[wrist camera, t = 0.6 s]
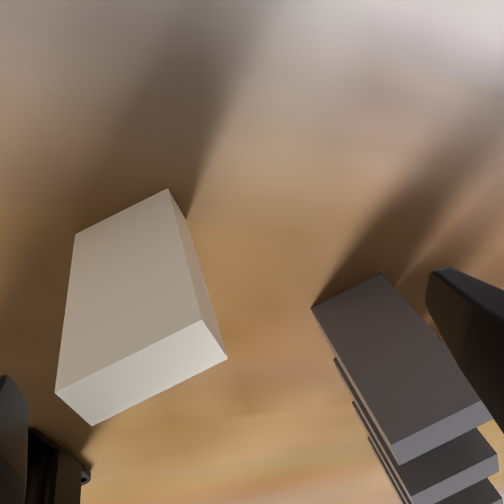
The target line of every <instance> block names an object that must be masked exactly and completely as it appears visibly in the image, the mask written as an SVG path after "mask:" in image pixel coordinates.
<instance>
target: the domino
mask: <svg viewBox="0 0 504 504" xmlns="http://www.w3.org/2000/svg"><path fill="white" fill-rule="evenodd" d="M311 310H312V313H313V315H314V317H315V320H316V322H317V324H318V326H319V329H320V330H321V332H322V334H323V335H324V337H325V339H326V341H327V342H328V344H329V346H330V348H331V349H332V351H333V353H334V354H335V356H336V358H337V360H338V361H339V363H340V365H341V366H342V368H343V370H344V372H345V373H346V375H347V377H348V379H349V380H350V382H351V384H352V385H353V387H354V389H355V391H356V392H357V394H358V396H359V397H360V399H361V401H362V403H363V404H364V406H365V408H366V410H367V411H368V413H369V415H370V416H371V418H372V420H373V422H374V423H375V425H376V427H377V428H378V430H379V432H380V434H381V435H382V437H383V439H384V441H385V442H386V444H387V446H388V447H389V449H390V451H391V453H392V454H393V456H394V458H395V460H396V461H397V463H398V465H399V466H400V465H402V464H404V463H406V462H408V461H410V460H412V459H414V458H416V457H418V456H420V455H422V454H424V453H426V452H428V451H430V450H432V449H434V448H436V447H438V446H440V445H442V444H444V443H446V442H448V441H450V440H452V439H454V438H456V437H458V436H460V435H462V434H464V433H466V432H468V431H470V430H472V429H474V428H476V427H478V426H480V425H482V424H484V423H486V422H488V421H490V420H492V419H493V417H492V416H491V414H490V413H489V411H488V410H487V408H486V407H485V405H484V404H483V402H482V401H481V400H480V398H479V397H478V395H477V394H476V392H475V391H474V389H473V388H472V386H471V385H470V383H469V382H468V380H467V379H466V377H465V376H464V374H463V373H462V371H461V370H460V368H459V367H458V365H457V363H456V362H455V360H454V358H453V356H452V354H451V353H450V351H449V349H448V347H447V346H446V345H445V344H444V342H443V341H442V340H441V339H440V338H439V337H438V336H437V335H436V333H435V332H434V331H433V330H432V329H431V328H430V327H429V326H428V324H427V323H426V322H425V321H424V320H423V319H422V318H421V317H420V316H419V314H418V313H417V312H416V311H415V310H414V309H413V308H412V307H411V305H410V304H409V303H408V302H407V301H406V300H405V299H404V298H403V296H402V295H401V294H400V293H399V292H398V291H397V290H396V289H395V287H394V286H393V285H392V284H391V283H390V282H389V281H388V280H387V278H386V277H385V276H384V275H383V274H382V273H380V274H378V275H376V276H374V277H372V278H370V279H368V280H366V281H364V282H362V283H360V284H358V285H356V286H354V287H352V288H350V289H348V290H346V291H344V292H342V293H340V294H338V295H336V296H334V297H332V298H330V299H328V300H326V301H324V302H322V303H320V304H318V305H316V306H314V307H312V308H311Z"/></svg>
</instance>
